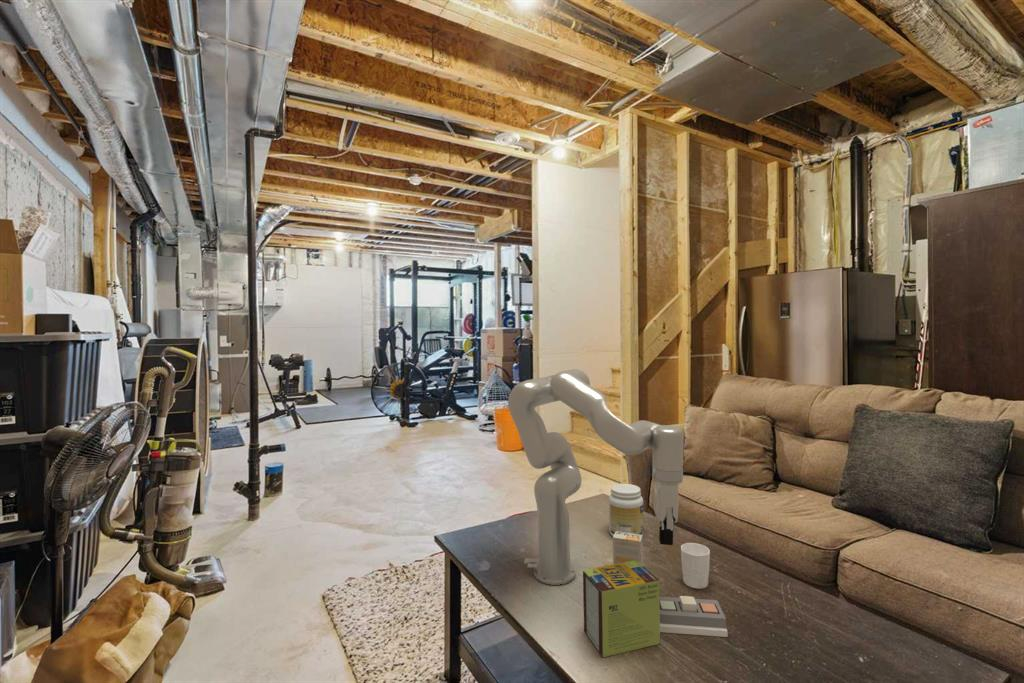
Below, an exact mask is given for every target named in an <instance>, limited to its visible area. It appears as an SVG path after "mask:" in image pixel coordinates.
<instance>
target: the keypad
mask: <svg viewBox="0 0 1024 683" xmlns="http://www.w3.org/2000/svg"><path fill="white" fill-rule="evenodd" d="M694 599H695V601H696V604H697V612H682V610H681V607H680V597H674V596H673V597H670V596H669V597H668V596H659V602H660V601H673V602H674V605H675V608H676V611H666V610H660V633H664V634H665V633H667V634H681V635H692V636H693V635H694V636H695V635H696V636H707V637H708V636H709V637H721V638H728V631H729V630H728V629H727V617H726V616H725V613H724V612H723V610H722V607H721V605H720V604H719V601H718V600H717V599H703V598H694ZM700 603H706V604H714V605H715V607H716V609H717V611H718V614H712V613H702V611H701V609H700Z"/></svg>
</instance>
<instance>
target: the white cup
mask: <svg viewBox="0 0 1024 683" xmlns="http://www.w3.org/2000/svg"><path fill="white" fill-rule="evenodd" d="M710 552H711V550H710V549H709V548H708V547H707V546H706V545H704V544H700V543H697V542H686V543H683V544H682V545H681V546H680V557H681V569H682V570H681V572H682V581H683V583H684V584H685V586H688V587H689V588H691V589H697V590H699V589H700V590H701V589H705V588H707V587H708V586H709V576H710V559H711V558H710V555H711V553H710Z"/></svg>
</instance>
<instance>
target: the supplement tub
mask: <svg viewBox="0 0 1024 683" xmlns="http://www.w3.org/2000/svg"><path fill="white" fill-rule="evenodd" d="M610 489H611V490H610V495H609V496H608V512H609V513H608V514H609V515H608V516H609V517H608V520H609V523H608V524H609V526H608V528H609V530H608V531H609V533H610V535H611V536H612V537H613V536H614V534H615V532H616V531H619V532H626V533H632V534H639V535H643V536H644V534H645V527H644V518H645V516H644V499H643V497H642V492H641V490H642V489H641V487H639V486H638V485H636V484H631V483H616V484H613V485H612V486H611V487H610Z"/></svg>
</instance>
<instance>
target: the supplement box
mask: <svg viewBox="0 0 1024 683" xmlns="http://www.w3.org/2000/svg"><path fill="white" fill-rule="evenodd" d="M612 553H613V554H612V556H613V558H612V559H613V563H612V564H618V563H624V562H629V561H633V560H637V561H638V562H639V563H640V564H641V565H643V566H644V534H643V535H639V534H632V533H626V532H619V531H616V532H615V534H614V536H612Z"/></svg>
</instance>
